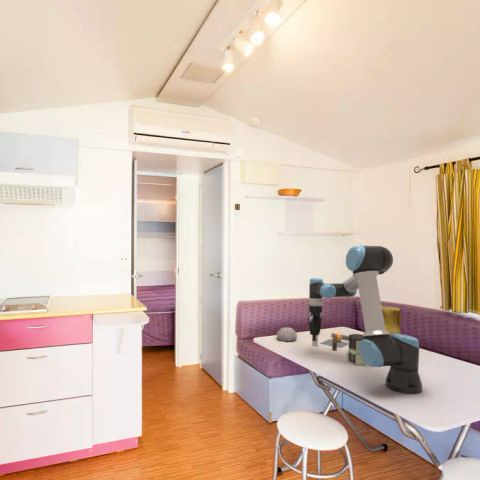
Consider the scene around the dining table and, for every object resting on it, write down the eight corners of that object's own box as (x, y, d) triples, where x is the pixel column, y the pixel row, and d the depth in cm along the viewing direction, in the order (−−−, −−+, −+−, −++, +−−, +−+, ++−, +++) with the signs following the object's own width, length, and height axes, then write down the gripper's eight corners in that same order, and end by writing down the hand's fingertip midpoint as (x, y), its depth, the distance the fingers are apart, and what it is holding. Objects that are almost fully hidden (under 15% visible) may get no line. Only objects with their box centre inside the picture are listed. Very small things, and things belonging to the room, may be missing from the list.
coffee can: (345, 363, 204) (346, 336, 204) (350, 358, 213) (351, 333, 213) (365, 367, 199) (366, 339, 199) (369, 362, 208) (370, 335, 208)
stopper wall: (357, 342, 248) (357, 338, 248) (331, 337, 259) (331, 333, 259) (358, 341, 249) (358, 337, 249) (332, 336, 261) (332, 332, 261)
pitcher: (366, 341, 248) (370, 303, 247) (396, 344, 247) (399, 305, 246) (374, 350, 231) (378, 309, 230) (406, 353, 230) (410, 311, 229)
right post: (335, 351, 227) (336, 335, 227) (331, 350, 229) (331, 334, 228) (337, 350, 229) (337, 334, 229) (333, 349, 231) (333, 334, 230)
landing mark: (340, 347, 234) (340, 347, 234) (319, 343, 243) (319, 343, 243) (350, 343, 244) (350, 343, 244) (329, 339, 253) (329, 339, 253)
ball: (339, 343, 244) (339, 334, 245) (331, 341, 248) (331, 332, 248) (343, 341, 249) (343, 333, 249) (335, 340, 252) (335, 331, 252)
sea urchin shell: (276, 342, 244) (276, 329, 244) (276, 336, 257) (276, 324, 257) (297, 343, 243) (298, 330, 243) (296, 337, 256) (296, 325, 256)
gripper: (316, 307, 215) (315, 349, 215) (326, 304, 225) (326, 345, 225) (304, 305, 220) (303, 347, 220) (315, 303, 230) (314, 343, 230)
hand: (314, 346), depth 222 cm, fingers closed
